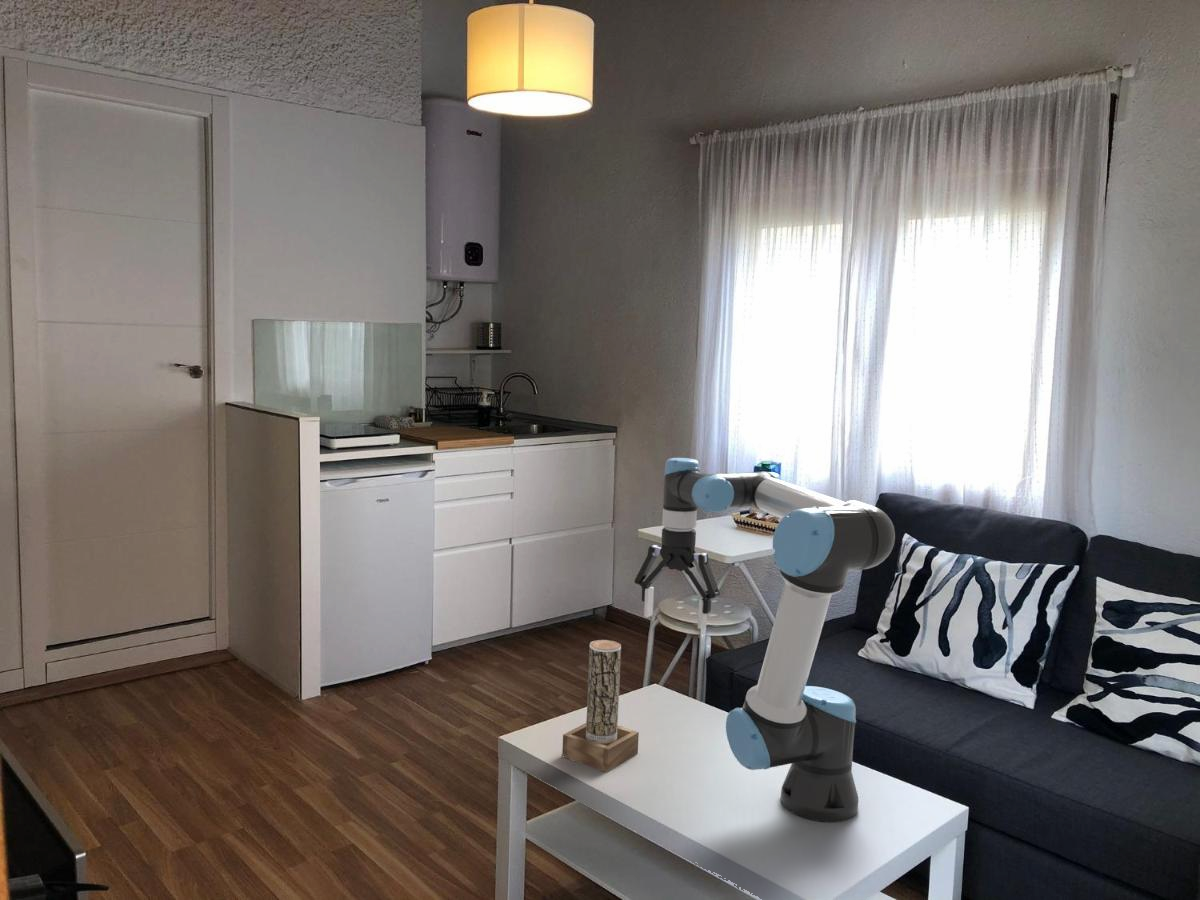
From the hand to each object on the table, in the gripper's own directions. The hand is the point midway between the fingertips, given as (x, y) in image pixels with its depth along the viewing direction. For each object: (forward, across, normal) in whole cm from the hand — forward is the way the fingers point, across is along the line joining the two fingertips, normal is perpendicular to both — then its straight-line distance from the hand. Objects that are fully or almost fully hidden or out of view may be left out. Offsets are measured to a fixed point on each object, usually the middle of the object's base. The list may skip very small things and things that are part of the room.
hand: (674, 621), depth 225 cm
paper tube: (+29, +9, +15) cm, 33 cm away
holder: (+28, +9, +15) cm, 33 cm away
